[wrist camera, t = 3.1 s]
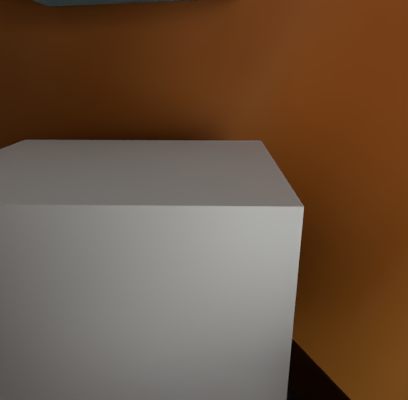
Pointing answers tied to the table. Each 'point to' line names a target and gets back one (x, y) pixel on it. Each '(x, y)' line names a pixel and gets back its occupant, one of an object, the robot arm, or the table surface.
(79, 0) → the teal brick
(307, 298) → the table surface
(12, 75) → the table surface
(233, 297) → the cream brick
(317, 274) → the table surface
